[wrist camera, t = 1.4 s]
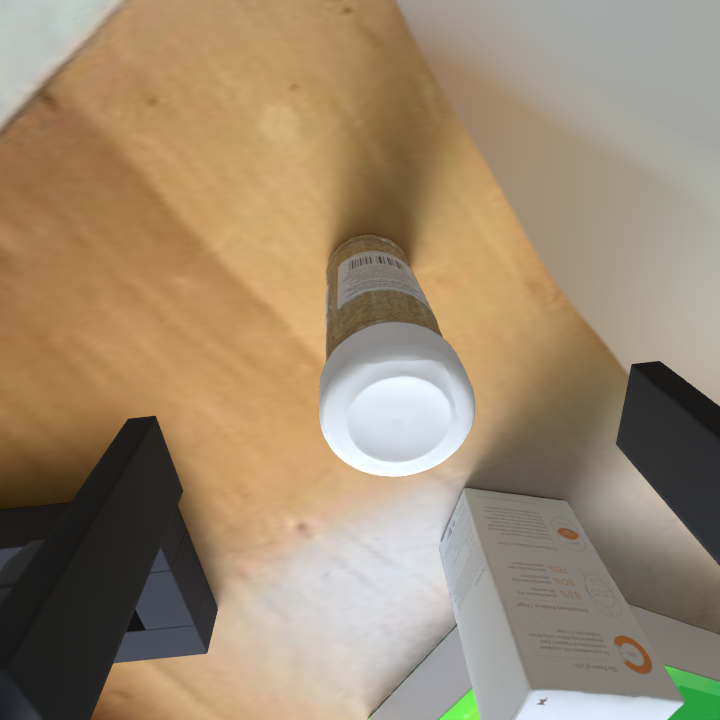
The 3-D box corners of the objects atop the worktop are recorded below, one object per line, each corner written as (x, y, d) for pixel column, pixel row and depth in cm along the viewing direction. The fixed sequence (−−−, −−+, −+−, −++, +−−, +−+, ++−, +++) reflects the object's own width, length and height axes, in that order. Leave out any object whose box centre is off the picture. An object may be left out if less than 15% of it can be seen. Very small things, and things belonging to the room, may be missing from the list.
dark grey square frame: (-15, 511, 32) (-53, 554, 29) (172, 491, 32) (154, 532, 28) (61, 625, 38) (36, 671, 35) (218, 609, 38) (207, 653, 35)
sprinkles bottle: (315, 299, 26) (297, 463, 14) (342, 219, 24) (348, 328, 12) (393, 323, 26) (439, 497, 15) (424, 248, 24) (508, 377, 13)
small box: (436, 547, 35) (484, 757, 24) (462, 484, 32) (532, 689, 21) (535, 558, 36) (627, 765, 25) (569, 499, 34) (690, 701, 22)
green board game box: (367, 719, 47) (370, 783, 42) (514, 565, 37) (538, 627, 32) (562, 761, 53) (583, 820, 48) (733, 639, 43) (779, 700, 38)
